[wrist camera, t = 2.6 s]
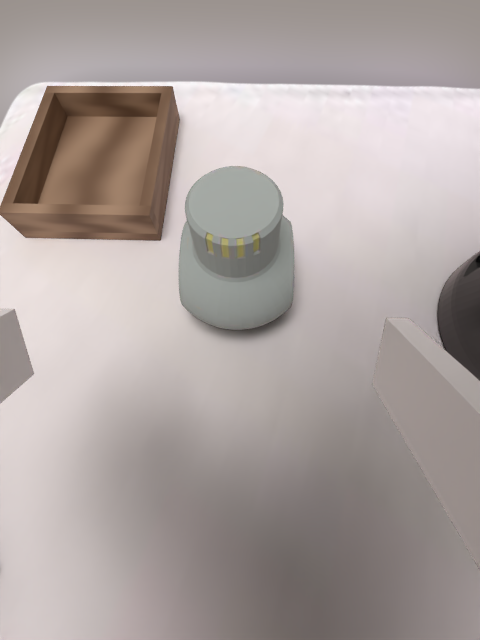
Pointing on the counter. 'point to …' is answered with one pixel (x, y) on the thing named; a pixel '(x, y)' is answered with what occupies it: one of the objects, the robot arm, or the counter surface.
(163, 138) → the tray
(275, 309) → the air freshener
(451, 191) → the counter surface
